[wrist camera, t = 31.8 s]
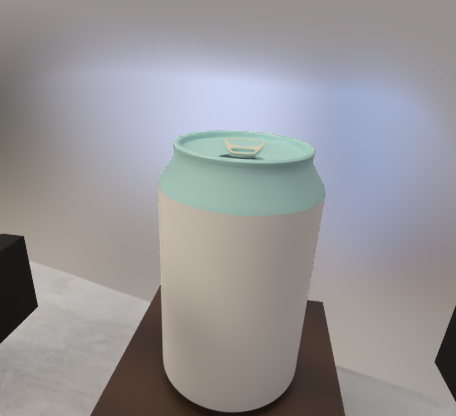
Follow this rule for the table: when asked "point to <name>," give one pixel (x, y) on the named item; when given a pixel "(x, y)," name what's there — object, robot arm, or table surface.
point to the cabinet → (191, 412)
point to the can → (236, 264)
